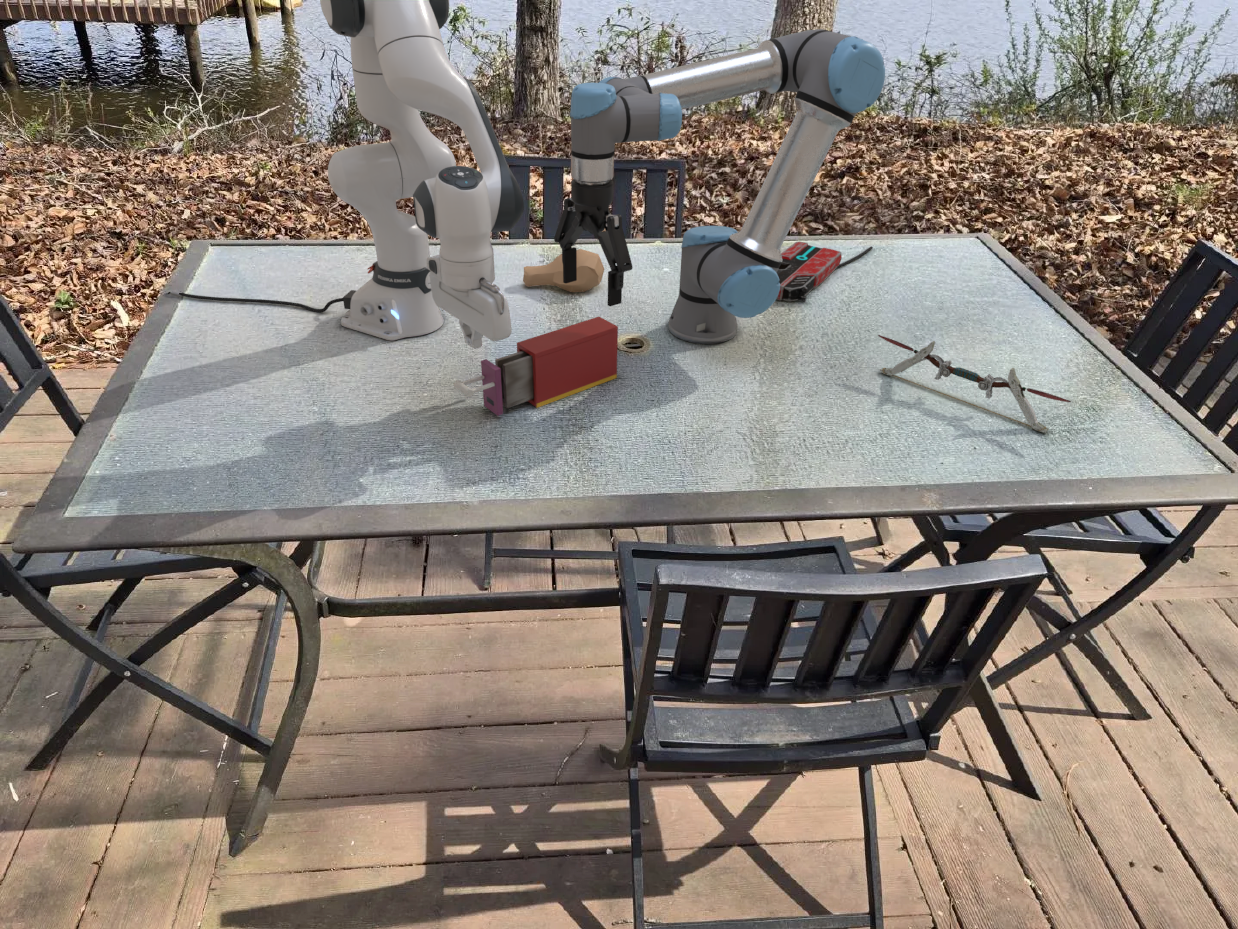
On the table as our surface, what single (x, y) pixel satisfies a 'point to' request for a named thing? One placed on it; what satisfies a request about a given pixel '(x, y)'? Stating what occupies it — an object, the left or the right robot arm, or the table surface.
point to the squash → (552, 273)
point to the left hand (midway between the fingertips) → (473, 345)
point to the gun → (804, 269)
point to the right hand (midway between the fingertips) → (591, 292)
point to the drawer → (503, 382)
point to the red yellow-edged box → (572, 359)
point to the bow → (983, 384)
